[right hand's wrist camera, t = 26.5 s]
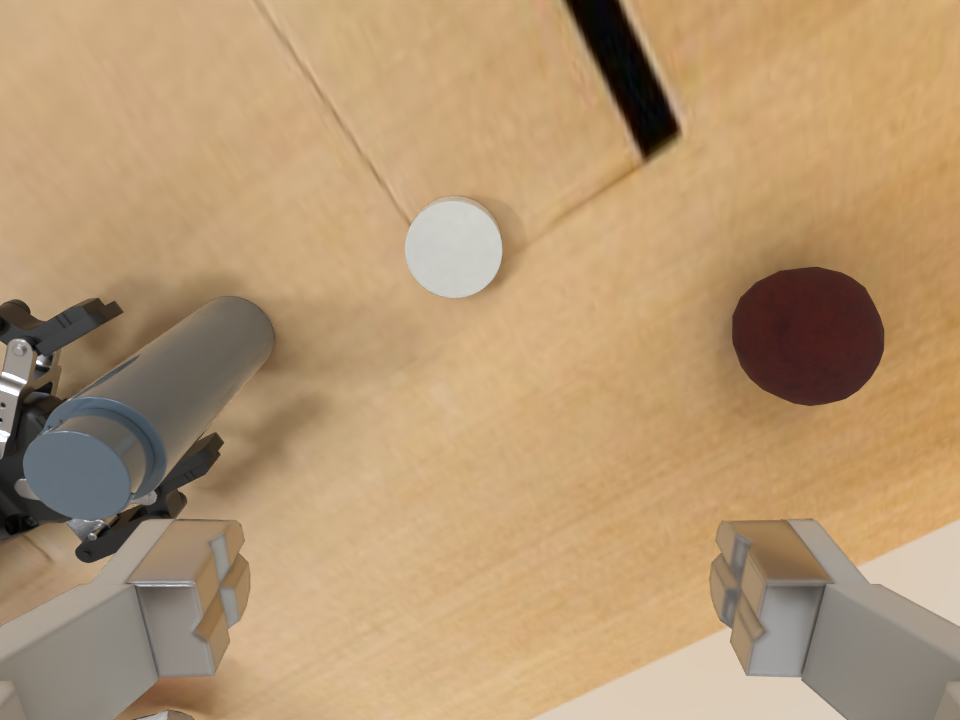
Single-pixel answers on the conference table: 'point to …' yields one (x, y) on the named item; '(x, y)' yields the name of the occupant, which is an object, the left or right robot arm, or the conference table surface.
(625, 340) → the conference table surface
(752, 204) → the conference table surface
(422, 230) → the lid
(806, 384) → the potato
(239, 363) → the bottle
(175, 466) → the left robot arm
